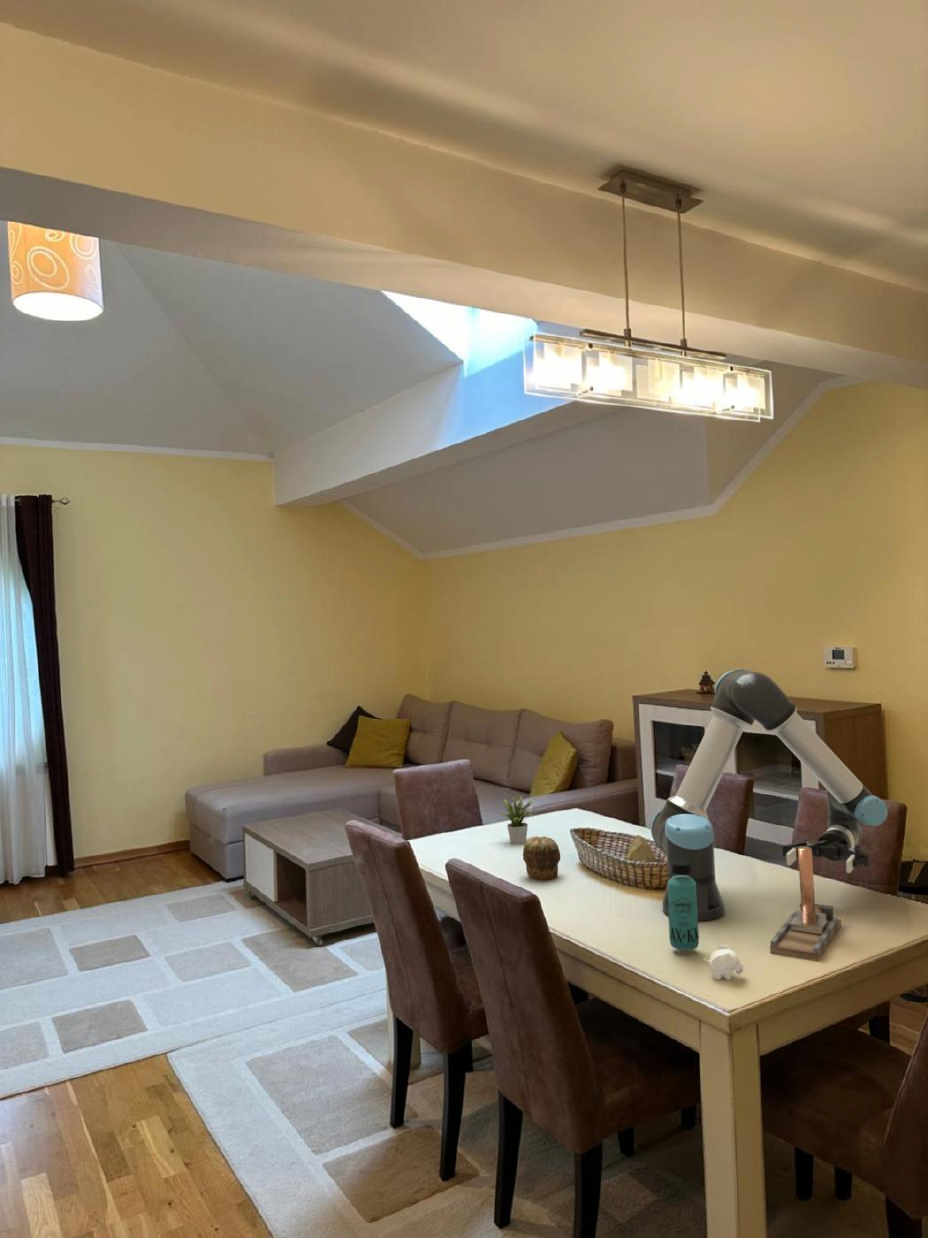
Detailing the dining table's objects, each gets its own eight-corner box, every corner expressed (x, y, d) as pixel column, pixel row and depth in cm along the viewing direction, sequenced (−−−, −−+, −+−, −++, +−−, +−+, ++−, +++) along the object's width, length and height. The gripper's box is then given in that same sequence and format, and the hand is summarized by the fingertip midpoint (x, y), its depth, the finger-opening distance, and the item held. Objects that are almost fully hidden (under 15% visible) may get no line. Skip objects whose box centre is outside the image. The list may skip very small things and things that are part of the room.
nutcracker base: (818, 961, 183) (817, 937, 183) (770, 953, 188) (769, 929, 189) (841, 925, 203) (840, 904, 203) (797, 919, 208) (796, 898, 208)
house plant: (542, 848, 286) (539, 799, 286) (500, 850, 287) (498, 801, 287) (538, 837, 301) (536, 791, 301) (499, 839, 301) (497, 793, 301)
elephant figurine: (747, 985, 173) (746, 955, 173) (706, 984, 174) (705, 954, 174) (742, 971, 180) (741, 943, 180) (703, 970, 181) (701, 942, 181)
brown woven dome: (519, 881, 250) (517, 840, 250) (530, 871, 260) (528, 831, 261) (555, 884, 246) (553, 842, 246) (565, 873, 256) (563, 833, 256)
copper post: (822, 934, 193) (817, 853, 193) (790, 929, 197) (785, 850, 197) (828, 926, 198) (823, 847, 198) (796, 921, 202) (792, 844, 202)
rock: (667, 865, 251) (655, 852, 261) (650, 845, 249) (639, 832, 259) (639, 889, 250) (628, 875, 260) (622, 869, 249) (611, 855, 259)
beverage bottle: (666, 947, 195) (661, 859, 195) (694, 945, 195) (689, 857, 195) (675, 958, 188) (670, 867, 188) (704, 956, 189) (700, 865, 189)
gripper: (889, 864, 216) (874, 886, 199) (786, 852, 230) (765, 872, 213) (888, 834, 216) (873, 854, 199) (785, 824, 230) (763, 841, 213)
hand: (817, 863), depth 206 cm, fingers open, 13 cm apart
